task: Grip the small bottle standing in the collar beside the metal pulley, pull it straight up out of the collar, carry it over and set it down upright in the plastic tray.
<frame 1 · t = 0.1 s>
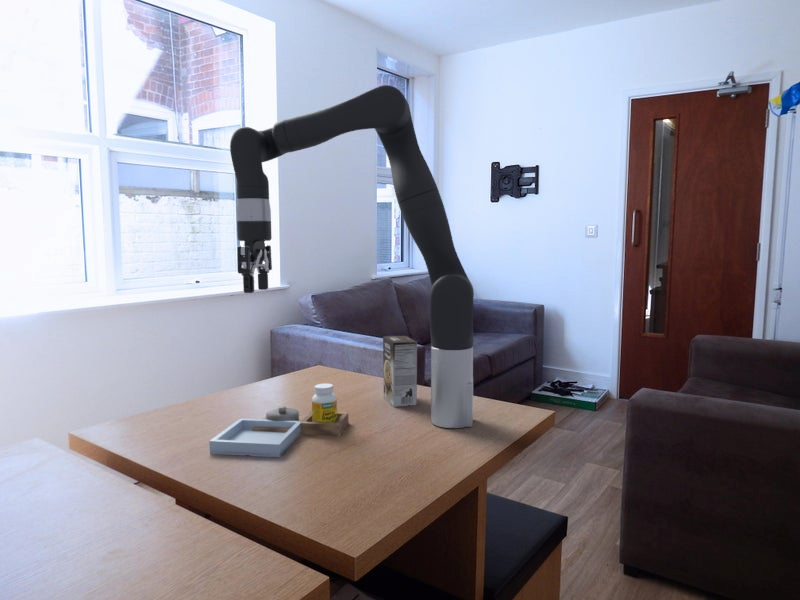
hand: (256, 291, 132), 29 cm above the table, tool pointing down, fingers open, 8 cm apart
tray: (258, 442, 117), on the table
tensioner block: (324, 428, 125), on the table
coffee box: (399, 402, 146), on the table
supplement bottle: (324, 429, 125), resting in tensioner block
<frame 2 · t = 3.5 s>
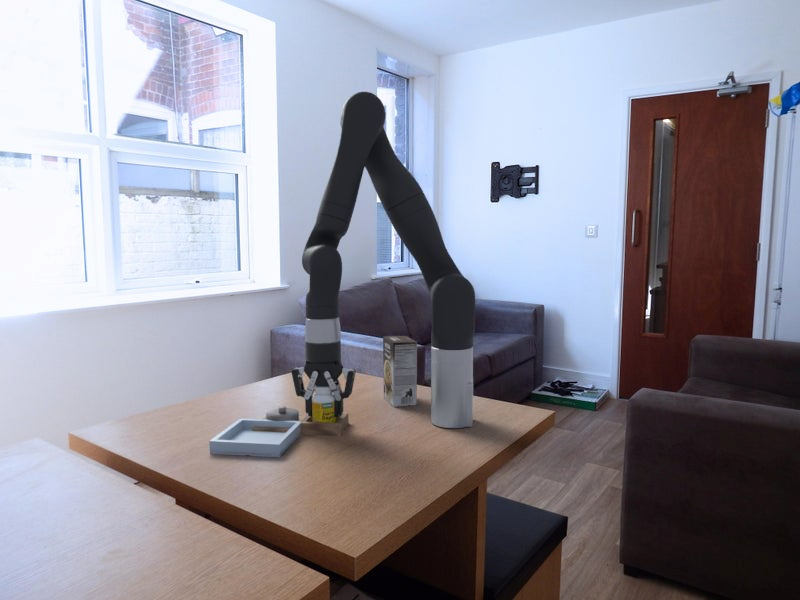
hand: (324, 415, 124), 3 cm above the table, tool pointing down, fingers closed on supplement bottle, 5 cm apart
supplement bottle: (324, 429, 125), resting in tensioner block, touching gripper
everything else where it was.
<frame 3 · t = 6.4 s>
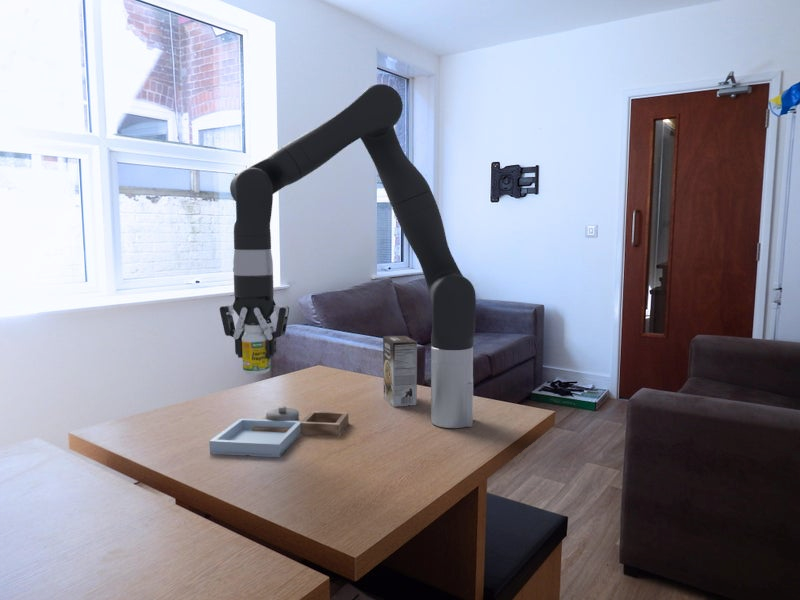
hand: (255, 357, 115), 18 cm above the table, tool pointing down, fingers closed on supplement bottle, 5 cm apart
supplement bottle: (256, 372, 115), point 14 cm above the table, touching gripper
everything else where it was.
when the fingers open (5 cm above the table, at t = 9.6 s): supplement bottle drops 1 cm, resting on tray.
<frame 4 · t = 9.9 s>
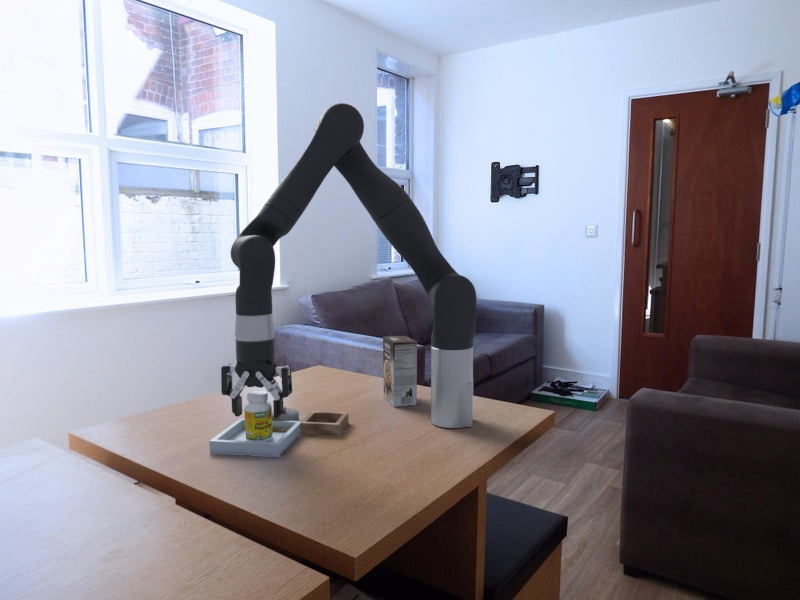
hand: (257, 416, 116), 6 cm above the table, tool pointing down, fingers open, 8 cm apart
supplement bottle: (259, 440, 117), resting on tray
everything else where it was.
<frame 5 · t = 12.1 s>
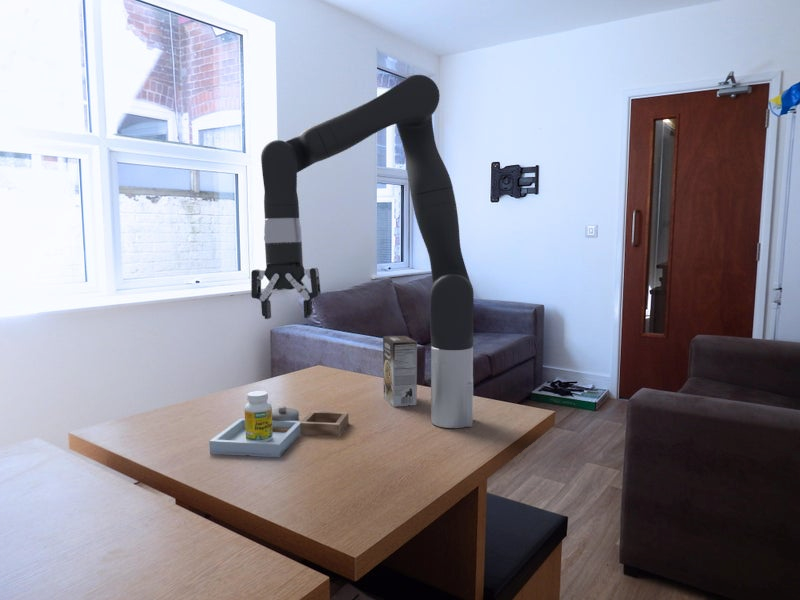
hand: (287, 318, 121), 24 cm above the table, tool pointing down, fingers open, 8 cm apart
nothing on the table moved.
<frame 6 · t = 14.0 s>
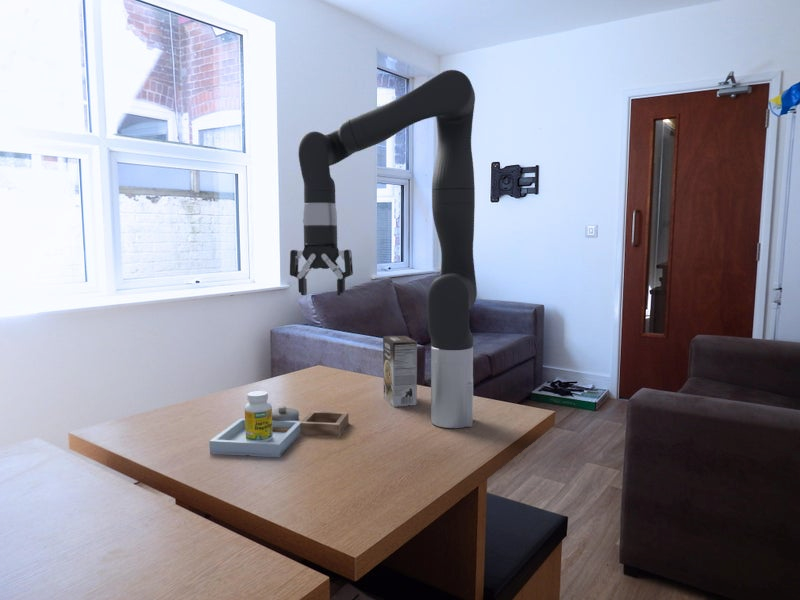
hand: (321, 295, 132), 28 cm above the table, tool pointing down, fingers open, 8 cm apart
nothing on the table moved.
at the end: supplement bottle inside the target area on the tray (0.1 cm from its centre), point 0.4 cm above the tray's base; supplement bottle tilted 0°; the gripper is holding nothing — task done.
